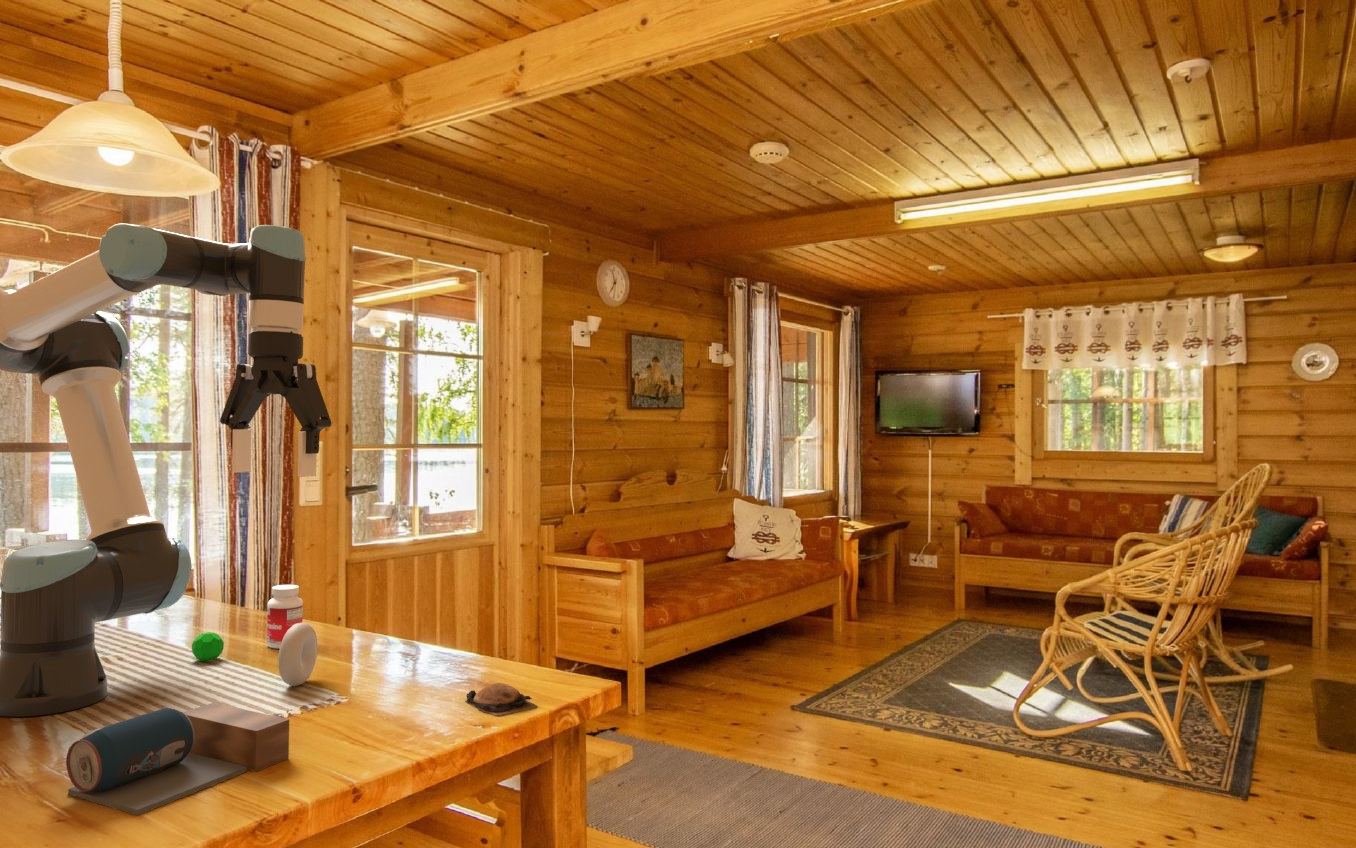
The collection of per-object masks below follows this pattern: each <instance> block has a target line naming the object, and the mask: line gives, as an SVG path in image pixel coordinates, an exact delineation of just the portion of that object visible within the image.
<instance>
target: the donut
mask: <svg viewBox="0 0 1356 848" xmlns="http://www.w3.org/2000/svg"><path fill="white" fill-rule="evenodd" d="M318 647H319V643H318V638H317V633H316V631H315V628H313V626H311V625H310V624H308V623H307V622H302V623H297V624H294V625H293V626H292V627H291V628H290V629H288V630H287V632H286V634H285V635H284V637H283V640H282V643H281V646H280V649H278V659H277V661H278V663H277V664H278V665H277V666H278V671H279V675H280V678H281V680H283V682H284V683H285V684H287V685H289V686H291V687H297V686H301V685H303V684H305V682H307V681H308V679H309V678H310V676H311V675H312V673H313V671H314V670H315V669H314V668H315V665H316V661H317V657H318V649H319V648H318Z"/></svg>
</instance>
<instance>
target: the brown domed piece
mask: <svg viewBox="0 0 1356 848" xmlns="http://www.w3.org/2000/svg"><path fill="white" fill-rule="evenodd" d="M528 700H532V697H530V695H524V694H523V693H520V691H519V690H518V689H517V688H515V687H513V686H512V685H509V684H506V683H501V682H498V683H497V682H496V683H492V684H491V683H490V684H488V685H486V686H484V687H483V688H481V689H480V690H479V691H477V692H476V691H475V690H470V691H469V692H468V693H466V700H464V703H466V704H467V705H469V706H471V707H472V708H474V709H476V710H478V711H480V712H482V713H486V714H489V715H491V716H494V717H503V716H509V715H512V714H517V713H520V712H521V713H522V712H525V711H528V710H529V711H530V710H533V709H534V710H535V709H537V708H538V705H537V704H535V703H533V702H530V701H528Z"/></svg>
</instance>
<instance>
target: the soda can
mask: <svg viewBox="0 0 1356 848" xmlns="http://www.w3.org/2000/svg"><path fill="white" fill-rule="evenodd" d="M183 712H184V711H181V710H177V709H175V708H171V707H163V708H160V709H157V710H154V711H151V712H150V711H149V712H148V713H144V714H141V715H138V716H135V717H131V718H129V719H125V720H121V721H119V722H115V723H112V724H109V725H106V726H102V727H99V728H97V729H93V730H90V731H89V732H87V733H86V734H84V735H83V736H82V737H81V738H80V739H79V740H78V739H77V740H76V741H74V742H73V743H72V744H71V745H70V746H69V747H68V751H67V754H66V760H65V764H66V771H67V775H68V778H69V780H70V782H71V783H72V785H73V787H76V788H77V789H79V790H80V791H84V792H88V791H91V790H92V791H106V790H109V789H111V788H114V787H117V786H119V785H122V784H125V783H127V782H130V781H133V780H136V779H138V778H141V777H144V776H146V775H149V774H152V773H154V772H157V771H160V770H162V769H165V768H168V767H170V766H173V765H176V764H178V763H180V762H181V761H182V760H183V759H184V758H185V757H186V756H187V754H188V753H189V752H190V751H191V749H192V747H193V744H194V739H195V734H194V728H193V725H192V722H191V720H190V719H189V717H188V716H187V715H186V714H185V713H183Z"/></svg>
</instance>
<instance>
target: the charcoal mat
mask: <svg viewBox="0 0 1356 848" xmlns="http://www.w3.org/2000/svg"><path fill="white" fill-rule="evenodd" d="M246 772H247V767H245V766H241V765H237V764H234V763H230V762H226V761H222V760H218V759H214V758H210V757H206V756H202V755H198V754H194V753H191V752H189V753H188V754H187V756H186V757H185V758H184V759H183V760H182V761H181V762H180V763H178V764H176V765H173V766H170V767H168V768H165V769H162V770H160V771H157V772H154V773H152V774H149V775H146V776H144V777H141V778H138V779H136V780H133V781H130V782H127V783H125V784H122V785H119V786H117V787H114V788H111V789H109V790H106V791H92V790H91V791H88V792H84V791H80V790H79V789H77V788H76V787H75V786H73V787H69V788H68V790H67V791H68V793H67V794H68V795H70V796H73V797H77V798H80V799H83V800H86V801H90V802H92V803H96V804H99V805H102V806H106V807H109V808H113V809H115V810H118V811H121V812H125V813H127V814H131V815H135V816H139V815H142V814H144V813H147V812H149V811H152V810H153V809H157V808H160V807H162V806H164V805H168V804H169V803H172V802H174V801H176V800H179V799H182V798H184V797H187V796H190V795H191V794H194V793H197V792H199V791H202V790H204V789H207V788H209V787H212V786H214V785H217V784H220V783H222V782H224V781H227V780H229V779H232V778H234V777H237V776H239V775H240V776H241V775H242V774H244V773H246Z"/></svg>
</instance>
